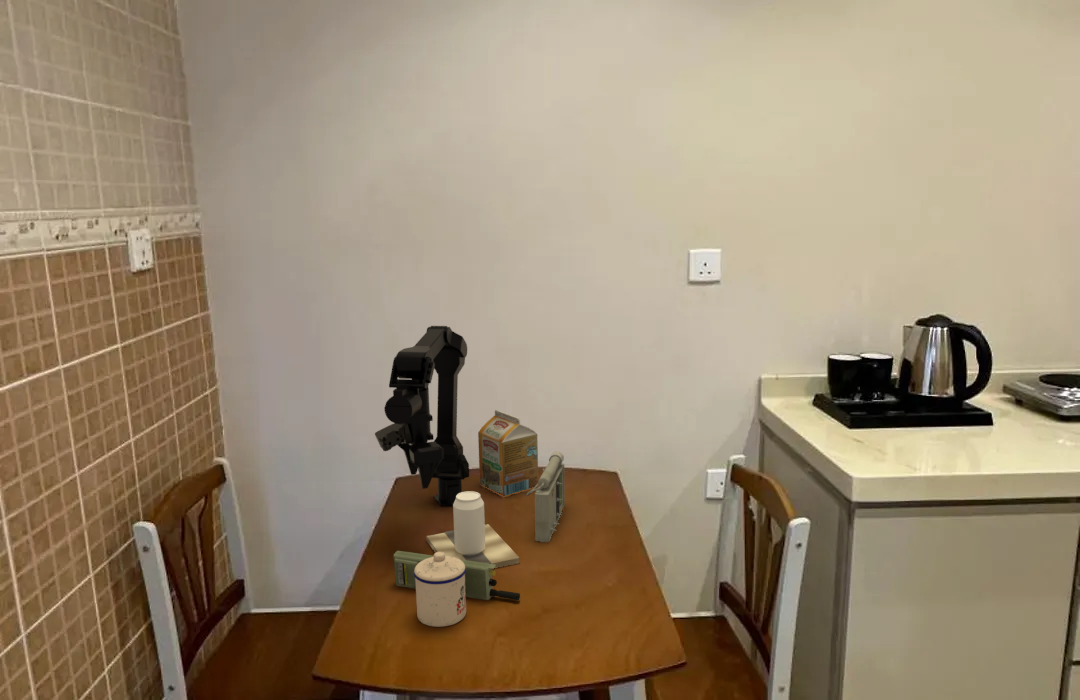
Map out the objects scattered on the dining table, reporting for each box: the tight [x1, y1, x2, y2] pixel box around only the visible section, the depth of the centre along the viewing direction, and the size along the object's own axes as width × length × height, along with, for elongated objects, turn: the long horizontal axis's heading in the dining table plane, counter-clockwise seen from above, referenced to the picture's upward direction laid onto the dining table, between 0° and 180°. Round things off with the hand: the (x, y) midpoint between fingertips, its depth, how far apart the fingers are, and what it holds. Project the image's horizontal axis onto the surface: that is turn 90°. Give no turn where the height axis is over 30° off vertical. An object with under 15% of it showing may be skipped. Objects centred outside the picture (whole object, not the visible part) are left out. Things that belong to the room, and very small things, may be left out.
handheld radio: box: [393, 550, 521, 601], centre depth 149 cm, size 7×3×25 cm
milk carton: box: [477, 409, 539, 496], centre depth 200 cm, size 11×11×19 cm
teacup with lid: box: [414, 552, 467, 628], centre depth 142 cm, size 12×9×12 cm
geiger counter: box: [525, 450, 566, 543], centre depth 181 cm, size 14×6×25 cm
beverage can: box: [452, 490, 486, 556], centre depth 162 cm, size 6×6×12 cm
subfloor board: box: [426, 523, 520, 569], centre depth 166 cm, size 18×14×1 cm
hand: (419, 481), depth 171 cm, fingers open, 9 cm apart
